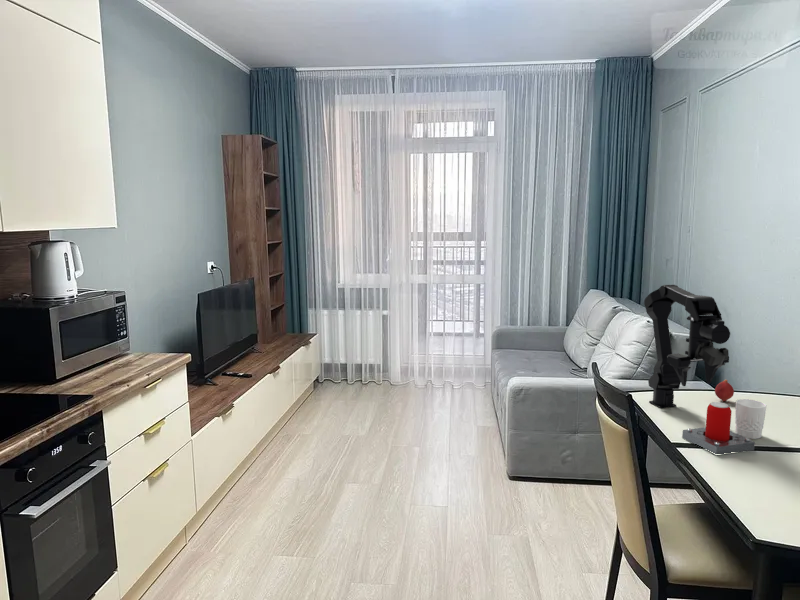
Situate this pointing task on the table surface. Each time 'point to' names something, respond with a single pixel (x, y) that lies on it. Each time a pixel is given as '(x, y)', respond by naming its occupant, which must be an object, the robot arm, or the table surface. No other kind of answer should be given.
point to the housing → (715, 446)
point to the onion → (724, 390)
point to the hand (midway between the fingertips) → (696, 384)
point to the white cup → (750, 418)
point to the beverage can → (718, 421)
